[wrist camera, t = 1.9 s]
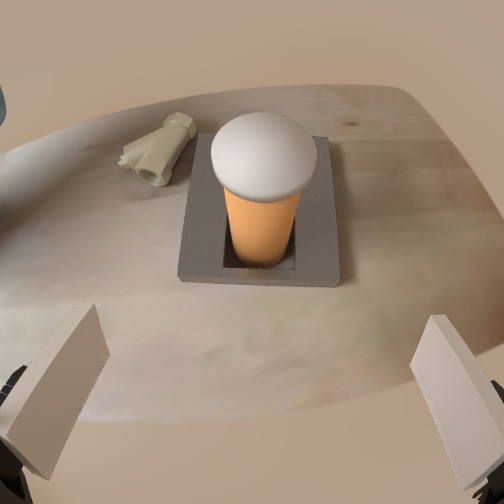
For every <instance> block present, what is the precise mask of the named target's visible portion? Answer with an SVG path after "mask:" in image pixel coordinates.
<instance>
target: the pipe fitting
mask: <svg viewBox="0 0 504 504" xmlns="http://www.w3.org/2000/svg"><path fill="white" fill-rule="evenodd" d="M162 126H163V127H161V128H159V129H157V130H155V131H153V132H151V133H149V134H147V135H145V136H143V137H141V138H139V139H137V140H135V141H133V142H131V143H129V144H127V145H125V146H123V151H124V153H123V154H121V155H120V160H119V161H118V164H119V166H120V168H123V167H125V169H129V168H131V169H132V170H133V171H134V172H136V174H137V175H138V177H139V178H140V179H142V180H143V181H144V182H146V183H148V184H150V185H153V186H157V187H161V186H164V185H166V184H167V183H168V181H169V179H170V178H171V176H172V171H171V170H172V168H173V166H174V164H175V163H176V161H177V159H178V157H179V156H180V154H181V152H182V150H183V149H184V147H185V145H186V143H187V142H188V141H189V140H191V139H192V138H193V137H194V135H195V133H196V132H197V129H196V124H195V122H194V120H193V119H192V118H191V117H189V116H188V115H186V114H183V113H180V112H175V113H173V114H171V115H169V116H167V118H166V119H165V121H164V122H163V124H162Z"/></svg>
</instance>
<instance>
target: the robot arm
mask: <svg viewBox="0 0 504 504" xmlns="http://www.w3.org/2000/svg"><path fill="white" fill-rule="evenodd" d="M5 116H6V105H5V100H4V96H3V92H2V89H1V86H0V126H1V125H2V123H3V121H4V119H5ZM109 356H110V354H109V351H108V348H107V345H106V341H105V338H104V335H103V332H102V328H101V325H100V321H99V318H98V314H97V311H96V307H95V303H91V302H83V301H78V303H77V304H76V305H75V306H74V307H73V309H72V310H71V311H70V312H69V314H68V315H67V316H66V317H65V319H64V320H63V321H62V322H61V324H60V325H59V326H58V327H57V329H56V330H55V331H54V332H53V334H52V335H51V336H50V338H49V339H48V340H47V342H46V343H45V344H44V346H43V347H42V348H41V349H40V351H39V352H38V354H37V355H36V356H35V358H34V359H33V360H32V362H31V363H30V364H29V366H28V367H27V366H24V365H23V366H22V367H20V368H19V369H18V370H16V371H15V372H14V373H13V374H12V375H11V377H10V378H9V379H8V381H7V382H6V385H4V387H3V388H2V389H1V391H0V392H1V393H0V504H33V502H32V499H31V496H30V492H29V489H28V485H27V482H26V478H25V475H24V473H23V471H22V470H21V469H22V467H23V465H24V466H25V467H27V469H29V470H30V472H32V473H33V474H35V475H37V476H39V477H42V478H44V479H46V480H48V481H49V480H50V477H51V475H52V473H53V471H54V468H55V466H56V464H57V461H58V459H59V457H60V454H61V452H62V450H63V448H64V446H65V443H66V441H67V439H68V437H69V435H70V433H71V431H72V428H73V426H74V424H75V422H76V420H77V418H78V416H79V414H80V412H81V410H82V408H83V406H84V404H85V402H86V400H87V398H88V396H89V394H90V392H91V390H92V388H93V386H94V384H95V382H96V380H97V378H98V376H99V374H100V373H101V371H102V369H103V367H104V365H105V363H106V361H107V359H108V358H109ZM410 367H411V370H412V372H413V374H414V376H415V378H416V380H417V383H418V385H419V387H420V389H421V391H422V394H423V396H424V398H425V401H426V403H427V405H428V407H429V410H430V412H431V415H432V417H433V420H434V422H435V424H436V427H437V429H438V432H439V434H440V437H441V439H442V442H443V444H444V447H445V449H446V453H447V455H448V458H449V461H450V463H451V466H452V469H453V472H454V475H455V477H456V480H457V483H458V487H459V490H460V492H462V491H465V490H467V489H470V488H472V487H475V486H477V485H478V484H479V483H480V482H482V481H483V480H484V479H485V478H486V477H487V479H488V483H487V484H485V485H484V486H483V487H482V488H481V489H479V490H478V491H477V492H476V493H475V494H474V495H473V497H472V498H476V497H477V496H478V495H480V494H481V493H482V495H481V496H480V497H479V498H478V500H480V501H479V504H504V389H503V388H502V387H501V386H500V385H499V384H498V383H497V382H495V381H494V380H493V381H490V380H489V378H488V377H487V375H486V374H485V372H484V371H483V369H482V368H481V366H480V364H479V363H478V361H477V360H476V358H475V357H474V355H473V354H472V352H471V351H470V349H469V348H468V346H467V345H466V343H465V342H464V341H463V339H462V338H461V336H460V335H459V333H458V332H457V331H456V329H455V328H454V326H453V325H452V324H451V322H450V321H449V319H448V318H447V317H446V315H445V314H443V315H430V317H429V320H428V322H427V325H426V327H425V330H424V333H423V335H422V338H421V340H420V342H419V345H418V347H417V350H416V352H415V354H414V357H413V359H412V361H411V363H410Z"/></svg>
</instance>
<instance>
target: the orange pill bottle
mask: <svg viewBox="0 0 504 504" xmlns="http://www.w3.org/2000/svg"><path fill="white" fill-rule="evenodd" d="M211 158H212V163H213V168H214V172H215V175H216V177H217V179H218V180H219V182H220V183H221V185H222V186H223V187H224V192H225V199H226V205H227V211H228V217H229V223H230V229H231V236H232V242H233V248H234V252H235V254H236V256H237V258H238V259H239V260H240V261H241V262H242V263H243V264H244V265H246V266H248V267H250V268H253V269H267V268H270V267H273V266H274V265H276V264H277V263H278V262H279V261H280V260H281V259H282V258H283V256H284V254H285V251H286V248H287V244H288V240H289V236H290V233H291V229H292V225H293V221H294V217H295V213H296V209H297V206H298V202H299V198H300V194H301V190H302V189H303V188H305V186H306V185H307V184H308V183H309V181H310V179H311V177H312V174H313V171H314V167H315V164H316V159H317V149H316V145H315V142H314V140H313V138H312V136H311V135H310V134H309V132H308V131H307V130H306V129H305V128H304V127H303V126H302V125H300V124H299V123H298V122H296V121H294V120H292V119H290V118H288V117H286V116H283V115H279V114H274V113H265V112H261V113H251V114H246V115H243V116H240V117H237V118H235V119H233V120H231V121H230V122H228V123H227V124H225V125H224V126H223V127H222V128H221V129H220V130H219V132H218V133H217V134H216V136H215V138H214V140H213V142H212V147H211Z"/></svg>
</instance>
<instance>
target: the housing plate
mask: <svg viewBox="0 0 504 504" xmlns="http://www.w3.org/2000/svg"><path fill="white" fill-rule="evenodd" d="M216 134H217V133H199V135H198V140H197V146H196V151H195V157H194V162H193V168H192V174H191V180H190V186H189V192H188V198H187V205H186V211H185V218H184V225H183V232H182V240H181V247H180V255H179V264H178V272H177V276H178V277H179V279H180V280H181V281H182V282H197V283H217V284H239V285H265V286H296V287H335V286H336V285H337V284H338V283H339V282H340V267H339V249H338V233H337V220H336V208H335V197H334V187H333V177H332V168H331V159H330V151H329V143H328V138H327V137H316V136H312V138H313V140H314V142H315V145H316V149H317V159H316V164H315V167H314V171H313V174H312V177H311V179H310V181H309V183H308V184H307V185H306V186H305V188H303V189H302V190H301V194H300V198H299V202H298V206H297V209H296V213H295V217H294V221H293V270H270V269H244V268H225V263H226V249H227V236H228V223H229V217H228V211H227V205H226V199H225V192H224V187H223V186H222V185H221V183H220V182H219V180H218V179H217V177H216V175H215V172H214V168H213V163H212V158H211V147H212V142H213V140H214V138H215V136H216Z"/></svg>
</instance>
